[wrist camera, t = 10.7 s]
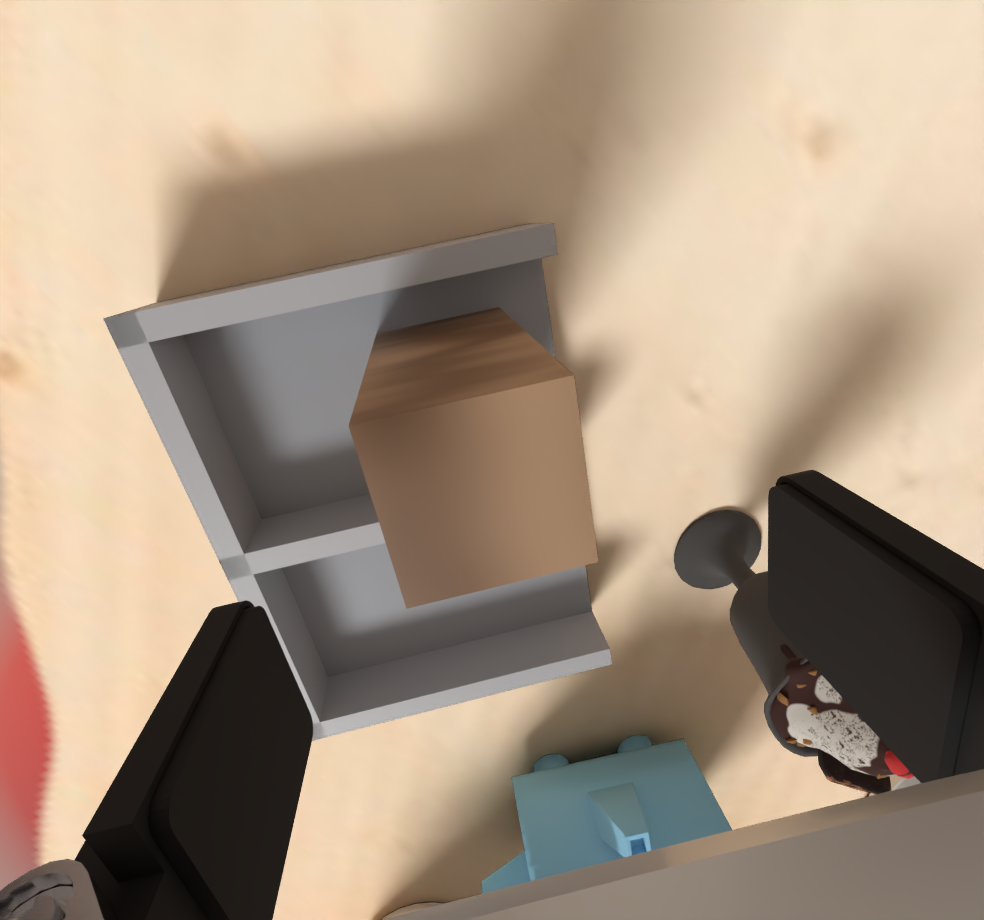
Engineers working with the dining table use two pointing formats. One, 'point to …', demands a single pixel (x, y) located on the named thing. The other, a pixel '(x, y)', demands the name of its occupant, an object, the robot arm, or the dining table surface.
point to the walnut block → (472, 456)
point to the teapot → (608, 809)
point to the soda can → (411, 909)
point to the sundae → (784, 659)
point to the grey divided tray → (345, 476)
